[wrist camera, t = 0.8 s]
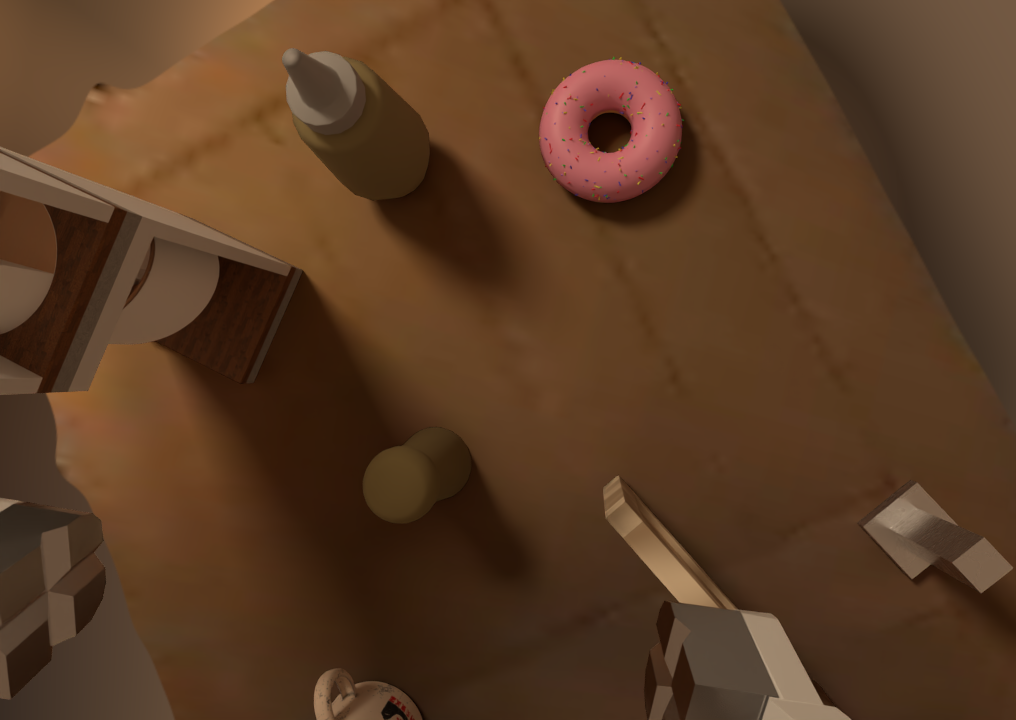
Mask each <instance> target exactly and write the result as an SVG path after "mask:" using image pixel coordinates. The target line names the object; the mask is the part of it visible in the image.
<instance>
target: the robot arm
mask: <svg viewBox="0 0 1016 720" xmlns="http://www.w3.org/2000/svg"><path fill="white" fill-rule="evenodd" d="M103 541H104V540H103V532H102V523H101V520H100V519H99V518H98V517H96V516H95V515H94V514H93V513H87V512H81V511H76V510H70V509H64V508H59V507H53V506H47V505H41V504H35V503H30V502H22V501H17V500H10V499H4V498H0V698H4V699H11V698H13V697H14V696H15V695H16V694H17V693H18V692H19V691H20V690H21V689H22V688H23V687H24V686H25V685H26V684H27V683H28V682H29V681H30V680H31V679H32V678H33V677H34V676H35V675H36V674H37V673H38V672H39V671H40V670H41V669H42V668H43V667H44V666H46V665H47V664H48V663H49V662H50V661H51V657H52V646H54V645H56V644H58V643H60V642H63V641H65V640H67V639H69V638H72V637H74V636H76V635H77V634H78V633H79V632H80V631H81V630H82V629H83V628H84V627H85V626H86V625H87V624H88V623H89V622H90V621H91V619H92V618H93V616H94V614H95V612H96V610H97V608H98V607H99V605H100V603H101V601H102V599H103V594H104V589H105V584H106V576H105V567H104V565H103V564H102V563H101V562H100V560H99V559H98V557H97V556H96V555H95V553H94V551H95V550H96V549H97V548H98V547H99V545H100V544H101V543H102V542H103ZM656 626H657V630H658V634H659V639H660V642H659V643H658V644H657V645H656V646H655V647H653V648H652V649H651V650H650V651H649V656H648V661H647V666H646V671H645V685H644V697H645V709H646V715H647V720H851V719H850V718H849V717H848V716H846V715H845V714H844V713H843V712H841V711H840V710H839V709H838V708H836V707H831V706H825V705H824V704H823V702H822V700H821V698H820V697H819V695H818V693H817V691H816V689H815V687H814V685H813V684H812V682H811V680H810V678H809V676H808V674H807V672H806V671H805V669H804V667H803V665H802V663H801V661H800V659H799V658H798V656H797V654H796V652H795V650H794V648H793V646H792V645H791V643H790V641H789V639H788V637H787V635H786V633H785V632H784V630H783V628H782V626H781V624H780V622H779V621H778V619H777V618H776V617H775V616H773V615H772V614H770V613H762V612H753V611H745V610H729V609H722V608H715V607H708V606H700V605H693V604H686V603H679V602H672V601H665V600H664V602H663V604H662V606H661V608H660V611H659V615H658V619H657V623H656Z"/></svg>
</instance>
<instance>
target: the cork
mask: <svg viewBox="0 0 1016 720" xmlns="http://www.w3.org/2000/svg"><path fill="white" fill-rule="evenodd" d="M470 472H471V456H470V453H469V450H468V447H467V446H466V444H465V443H464V442H463V440H462V439H461V437H459V436H458V435H456V434H455V433H454V432H452V431H450V430H447V429H444V428H441V427H429V428H426V429H423V430H420V431H418V432H417V433H416V434H414V435H413V436H412V437H410V438H409V439H408V440H407V441H406V442H405V443H404V444H403V445H402V446H395V447H392V448H389V449H386V450H383V451H382V452H381V453H379V454H378V455H377V456H375V457H374V458H373V460H372V461H371V463H370V464H369V465H368V467H367V469H366V471H365V474H364V478H363V494H364V497H365V500H366V503H367V505H368V506H369V507H370V509H371V510H372V512H373V513H374V514H376V515H377V516H378V517H380V518H381V519H382V520H385V521H388V522H391V523H410V522H413V521H416V520H418V519H420V518H421V517H422V516H424V515H425V514H426V513H428V512H429V511H430V509H431V508H432V506H433V505H434V504H435V502H436V501H440V500H443V499H446V498H449V497H452V496H454V495H455V494H456V493H458V492H459V491H460V490H462V488H463V487H464V485H465V484H466V482H467V481H468V478H469V475H470Z"/></svg>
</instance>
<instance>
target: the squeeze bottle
mask: <svg viewBox="0 0 1016 720" xmlns="http://www.w3.org/2000/svg"><path fill="white" fill-rule="evenodd" d="M282 62H283V64H284V66H285V68H286V70H287V72H288V74H289V78H288V81H287V84H286V96H287V102H288V104H289V107H290V109H291V111H292V115H293V123H294V125H295V127H296V129H297V131H298V133H299V135H300V137H301V139H302V140H303V141H304V142H305V143H306V145H307V146H308V147H309V148H310V149H311V150H312V151H313V152H314V153H315V154H316V156H317V157H318V158H319V159H320V160H321V161H322V162H323V163H324V164H325V165H326V167H327V168H328V169H329V170H330V171H331V172H332V173H333V174H334V175H335V176H336V178H337V179H338V180H339V181H340V182H341V183H342V184H343V185H345V186H346V187H347V188H348V189H349V190H350V191H351V192H353V193H354V194H355V195H357V196H361V197H364V198H367V199H370V200H383V199H392V198H399V197H403V196H405V195H407V194H409V193H411V192H413V191H414V190H415V189H416V188H417V187H418V186H419V184H420V183H421V182H422V181H423V180H424V177H425V174H426V171H427V167H428V163H429V156H430V145H429V133H428V131H427V129H426V127H425V125H424V123H423V121H422V119H421V117H420V115H419V114H418V113H417V112H416V111H415V110H414V109H413V108H412V107H411V106H410V105H409V104H408V103H407V102H405V101H404V100H403V99H402V98H401V97H400V96H399V95H398V94H397V93H396V92H395V91H394V90H393V89H392V88H391V87H390V86H389V85H388V84H387V83H386V82H385V81H384V80H383V79H381V78H380V77H379V76H378V75H377V74H376V73H375V72H374V71H373V70H371V69H370V68H369V67H368V66H367V65H365V64H364V63H363V62H362V61H358V60H354V59H351V58H347V57H342V56H340V55H339V54H335V53H331V52H328V51H323V52H316V53H311V54H310V55H307V54H305V53H303V52H301V51H299V50H297V49H294V48H292V49H288V50H287V51H286V52H285V53H284V54H283V57H282Z"/></svg>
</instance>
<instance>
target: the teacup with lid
mask: <svg viewBox="0 0 1016 720" xmlns="http://www.w3.org/2000/svg"><path fill="white" fill-rule="evenodd" d="M334 682H335V683H336V684H337V686H338V688H339V690H340V693H341V694H340V695H339V696H338V697H337V698H336V699H335V700H334V702H333V703H332V704H331V689H332V685H333V683H334ZM314 708H315V714H316V718H317V720H422V717H421V714H420V712H419V710H418V708H417V707H416V705H415V704H414V702H413V701H412V700H411V699H410V698H409V697H408V696H407V695H406V694H405V693H404V692H402V691H401V690H400V689H398V688H396V687H394V686H392V685H390V684H387V683H383V682H378V681H366V682H361V683H358V684H354V682H353V680H352V678H351V676H350V674H349V673H348V672H347V671H345V670H343V669H340V668H337V669H332V670H329V671H327V672H325V673H324V674H322V676H321V677H320V678H319V680H318V682H317V684H316V687H315V693H314Z"/></svg>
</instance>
